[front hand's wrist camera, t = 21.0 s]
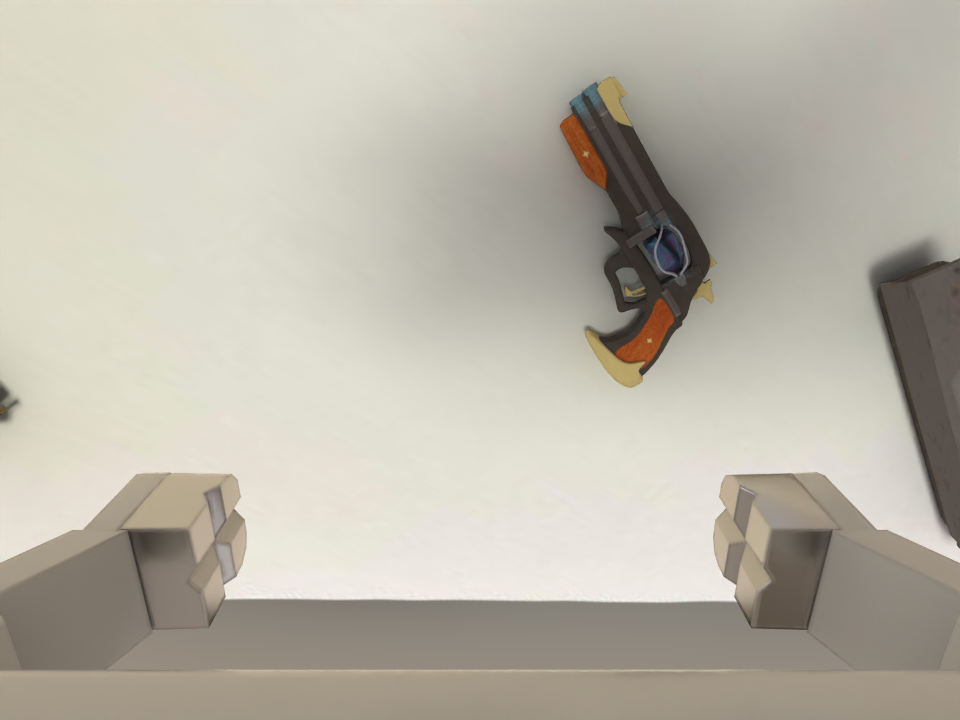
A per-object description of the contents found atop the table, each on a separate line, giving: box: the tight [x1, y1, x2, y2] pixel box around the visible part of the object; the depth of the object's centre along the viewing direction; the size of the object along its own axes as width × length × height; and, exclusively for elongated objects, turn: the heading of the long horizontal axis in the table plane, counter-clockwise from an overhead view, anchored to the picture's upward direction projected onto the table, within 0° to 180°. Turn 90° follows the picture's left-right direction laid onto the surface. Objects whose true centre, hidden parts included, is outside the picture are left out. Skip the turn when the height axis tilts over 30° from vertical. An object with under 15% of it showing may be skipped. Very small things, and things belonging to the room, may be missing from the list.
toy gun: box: [560, 77, 717, 387], centre depth 42 cm, size 3×19×10 cm
